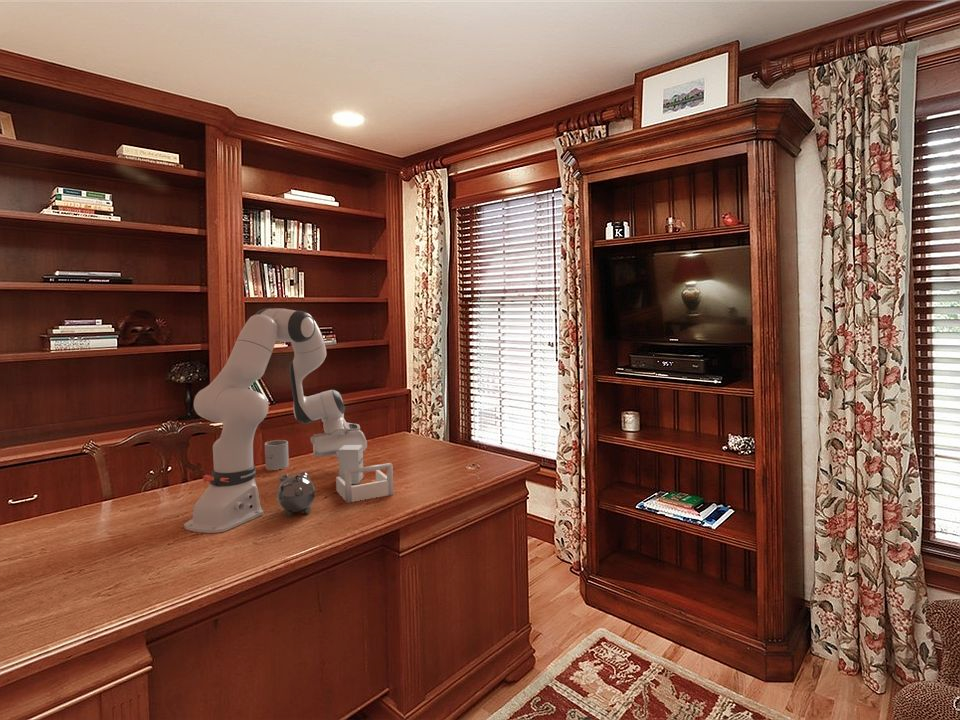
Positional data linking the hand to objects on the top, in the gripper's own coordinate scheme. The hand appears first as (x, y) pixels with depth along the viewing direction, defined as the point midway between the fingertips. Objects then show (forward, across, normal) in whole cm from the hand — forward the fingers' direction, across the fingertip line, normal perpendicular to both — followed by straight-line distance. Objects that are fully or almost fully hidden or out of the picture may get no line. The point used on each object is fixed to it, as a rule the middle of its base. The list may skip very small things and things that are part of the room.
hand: (344, 462), depth 200 cm
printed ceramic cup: (-14, -20, +21) cm, 33 cm away
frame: (+19, 0, -12) cm, 23 cm away
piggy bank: (+24, -23, -17) cm, 37 cm away
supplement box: (+10, 0, -2) cm, 10 cm away
